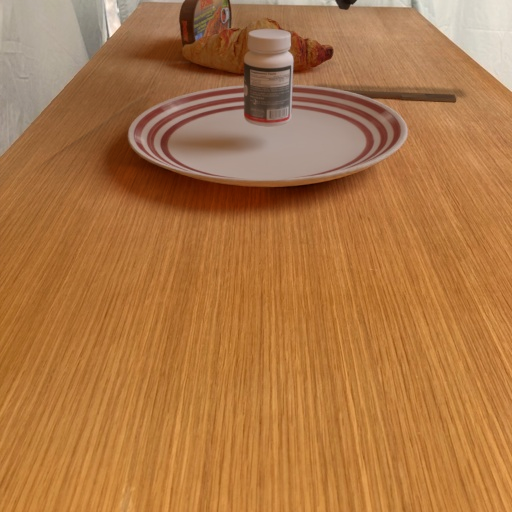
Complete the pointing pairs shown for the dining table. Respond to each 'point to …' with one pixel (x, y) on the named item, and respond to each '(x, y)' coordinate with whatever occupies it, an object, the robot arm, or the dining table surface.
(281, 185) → the dinner plate
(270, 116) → the pill bottle
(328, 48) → the croissant
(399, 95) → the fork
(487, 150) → the dining table surface
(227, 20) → the tin
